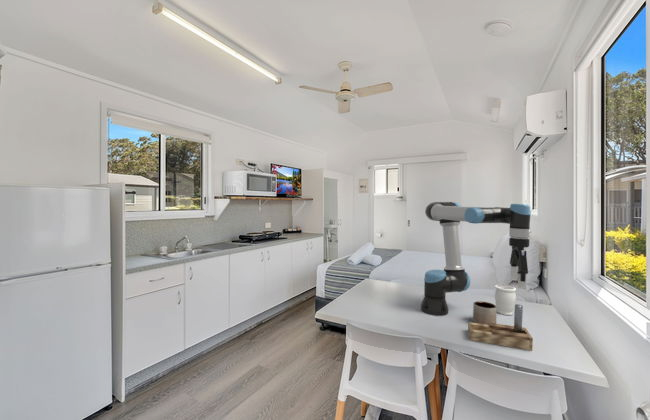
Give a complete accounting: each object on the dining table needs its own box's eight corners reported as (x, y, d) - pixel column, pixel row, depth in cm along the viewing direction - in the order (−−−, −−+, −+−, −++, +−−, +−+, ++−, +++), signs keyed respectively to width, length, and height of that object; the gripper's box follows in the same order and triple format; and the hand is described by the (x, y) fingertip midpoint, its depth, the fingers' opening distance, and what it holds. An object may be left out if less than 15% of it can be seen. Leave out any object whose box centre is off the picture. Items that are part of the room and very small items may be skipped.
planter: (496, 328, 144) (496, 310, 144) (472, 323, 150) (472, 305, 149) (496, 321, 153) (496, 303, 153) (473, 316, 159) (474, 299, 159)
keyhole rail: (470, 340, 132) (470, 328, 132) (468, 330, 142) (468, 319, 142) (532, 350, 123) (532, 338, 123) (525, 339, 133) (525, 327, 133)
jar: (518, 317, 159) (519, 290, 159) (498, 315, 161) (499, 289, 161) (510, 310, 169) (511, 285, 169) (491, 308, 171) (492, 283, 171)
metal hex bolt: (512, 341, 128) (513, 306, 128) (509, 336, 133) (511, 302, 132) (525, 343, 126) (526, 308, 126) (522, 338, 131) (523, 304, 130)
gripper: (538, 241, 115) (536, 293, 116) (521, 235, 139) (520, 278, 139) (516, 240, 118) (514, 291, 119) (503, 234, 141) (502, 276, 142)
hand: (517, 284), depth 129 cm, fingers open, 13 cm apart
